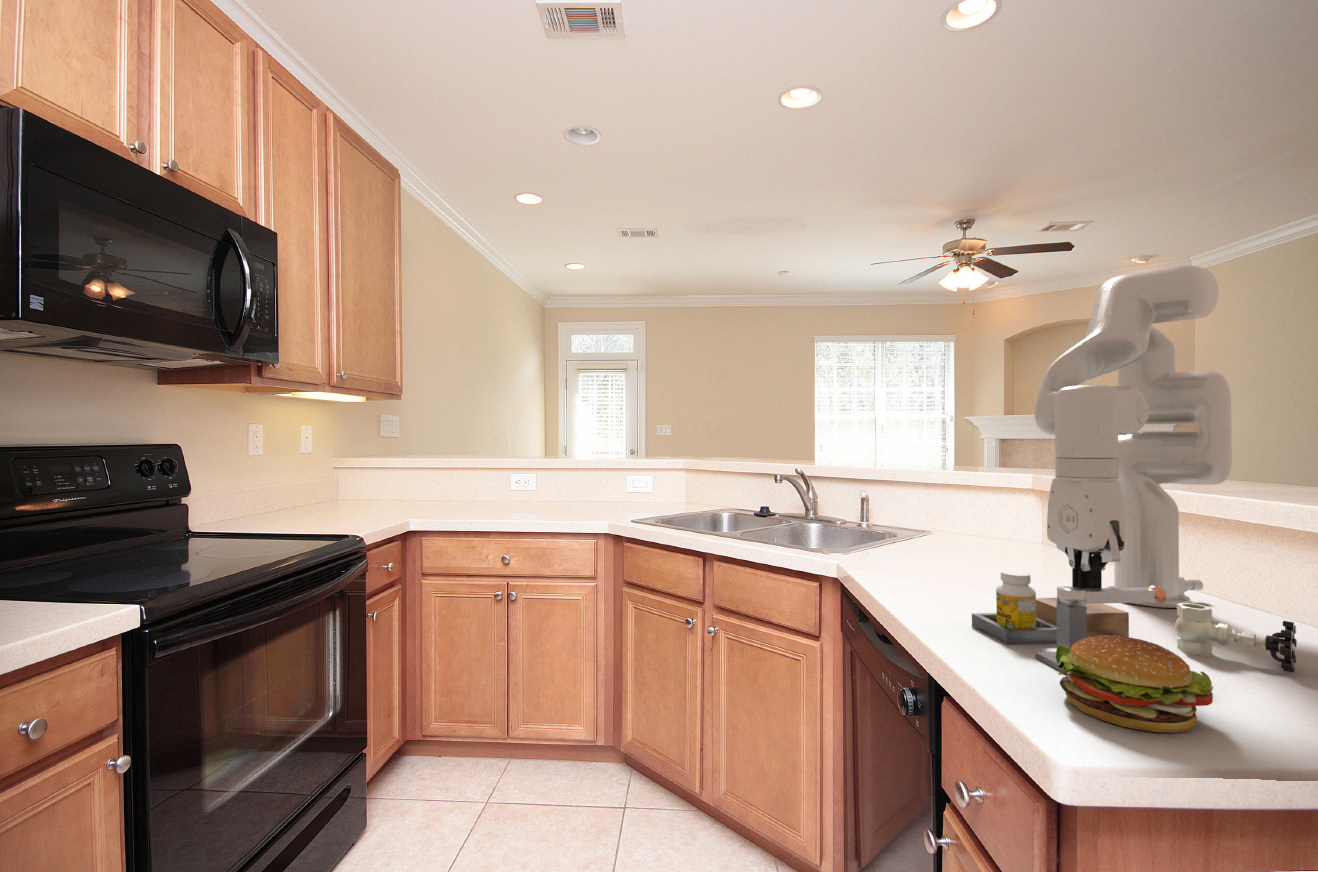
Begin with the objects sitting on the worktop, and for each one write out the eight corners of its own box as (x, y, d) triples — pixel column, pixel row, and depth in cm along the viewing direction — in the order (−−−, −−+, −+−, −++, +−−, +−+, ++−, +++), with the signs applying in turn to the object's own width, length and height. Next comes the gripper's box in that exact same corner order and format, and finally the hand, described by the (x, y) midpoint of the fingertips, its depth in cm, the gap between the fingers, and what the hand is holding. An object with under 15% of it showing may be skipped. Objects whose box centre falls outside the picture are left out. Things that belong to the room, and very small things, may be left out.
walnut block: (1083, 620, 101) (1083, 597, 101) (1128, 638, 92) (1128, 612, 92) (1032, 622, 100) (1032, 598, 100) (1072, 640, 91) (1072, 613, 92)
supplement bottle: (1044, 639, 92) (1043, 576, 92) (1010, 640, 92) (1009, 577, 92) (1021, 628, 97) (1021, 568, 97) (989, 629, 97) (988, 569, 97)
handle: (1153, 600, 84) (1153, 582, 84) (1174, 606, 81) (1174, 588, 81) (1051, 602, 83) (1051, 585, 83) (1068, 609, 80) (1068, 590, 80)
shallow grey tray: (1024, 624, 99) (1024, 612, 99) (1064, 642, 90) (1064, 629, 90) (971, 625, 99) (971, 613, 99) (1006, 644, 90) (1006, 631, 90)
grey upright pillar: (1076, 656, 85) (1075, 598, 85) (1110, 673, 79) (1110, 610, 79) (1035, 657, 84) (1034, 599, 84) (1066, 674, 78) (1066, 611, 78)
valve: (1169, 653, 86) (1291, 679, 77) (1169, 607, 86) (1290, 627, 77) (1180, 643, 90) (1297, 666, 81) (1180, 599, 90) (1296, 617, 81)
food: (1252, 737, 62) (1252, 659, 62) (1126, 744, 61) (1125, 665, 61) (1135, 683, 76) (1135, 619, 76) (1030, 688, 75) (1030, 623, 75)
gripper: (1027, 468, 95) (1027, 584, 95) (1102, 473, 80) (1103, 611, 80) (1072, 467, 96) (1073, 583, 96) (1155, 473, 81) (1156, 610, 81)
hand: (1086, 596), depth 88 cm, fingers closed
